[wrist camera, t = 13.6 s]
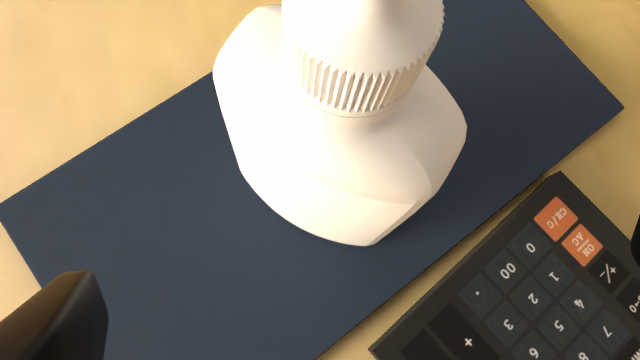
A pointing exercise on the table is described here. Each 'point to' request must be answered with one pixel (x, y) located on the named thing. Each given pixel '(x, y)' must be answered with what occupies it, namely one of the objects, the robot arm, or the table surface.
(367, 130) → the eye dropper bottle
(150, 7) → the table surface
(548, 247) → the calculator
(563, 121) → the placemat
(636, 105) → the table surface
